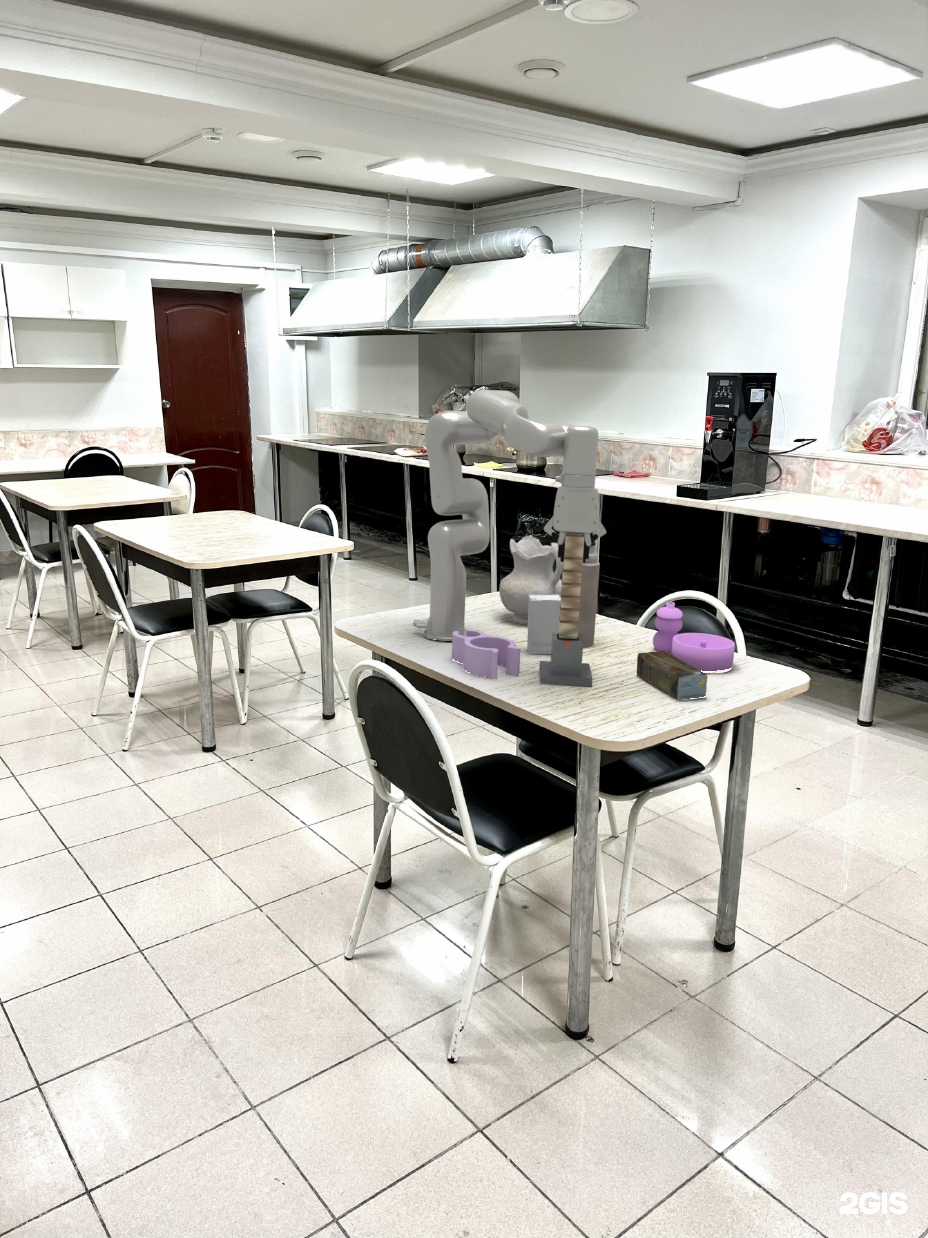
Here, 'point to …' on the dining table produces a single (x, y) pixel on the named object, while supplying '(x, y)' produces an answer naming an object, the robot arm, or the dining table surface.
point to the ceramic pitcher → (530, 576)
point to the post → (571, 586)
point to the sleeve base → (566, 663)
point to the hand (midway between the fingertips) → (572, 560)
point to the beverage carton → (671, 675)
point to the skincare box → (542, 622)
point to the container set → (691, 642)
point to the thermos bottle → (589, 597)
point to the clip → (485, 653)
